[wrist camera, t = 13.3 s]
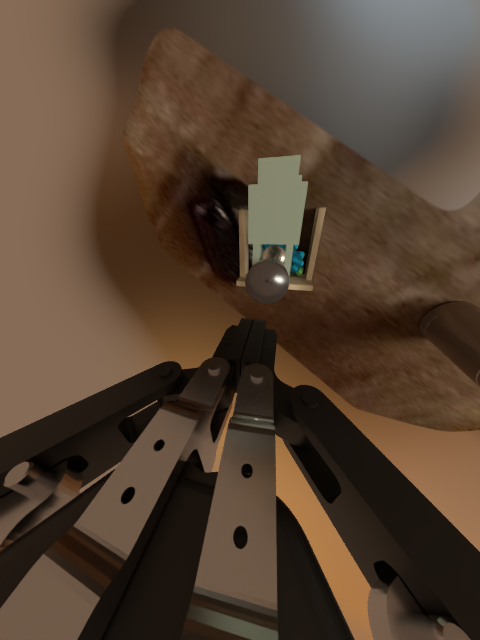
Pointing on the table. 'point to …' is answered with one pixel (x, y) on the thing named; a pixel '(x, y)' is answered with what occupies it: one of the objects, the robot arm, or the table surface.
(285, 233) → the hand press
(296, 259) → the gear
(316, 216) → the tan open box
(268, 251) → the ram
